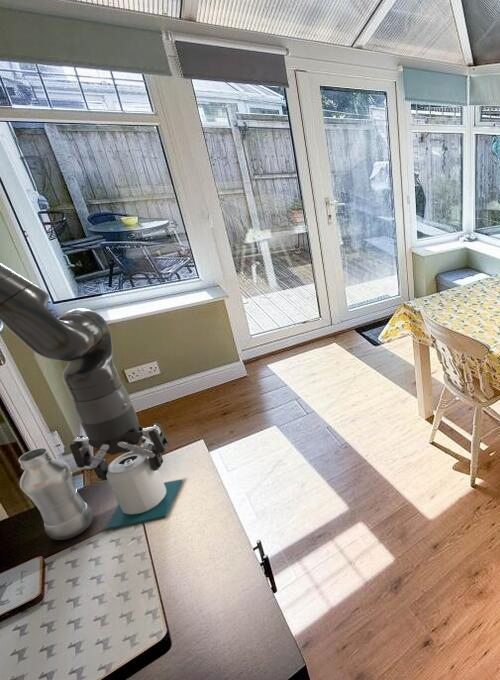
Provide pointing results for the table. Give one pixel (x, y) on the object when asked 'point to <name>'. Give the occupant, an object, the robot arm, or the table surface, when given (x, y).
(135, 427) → the robot arm
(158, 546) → the table surface
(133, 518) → the mat
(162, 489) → the can
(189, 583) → the table surface
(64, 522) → the plastic bottle
